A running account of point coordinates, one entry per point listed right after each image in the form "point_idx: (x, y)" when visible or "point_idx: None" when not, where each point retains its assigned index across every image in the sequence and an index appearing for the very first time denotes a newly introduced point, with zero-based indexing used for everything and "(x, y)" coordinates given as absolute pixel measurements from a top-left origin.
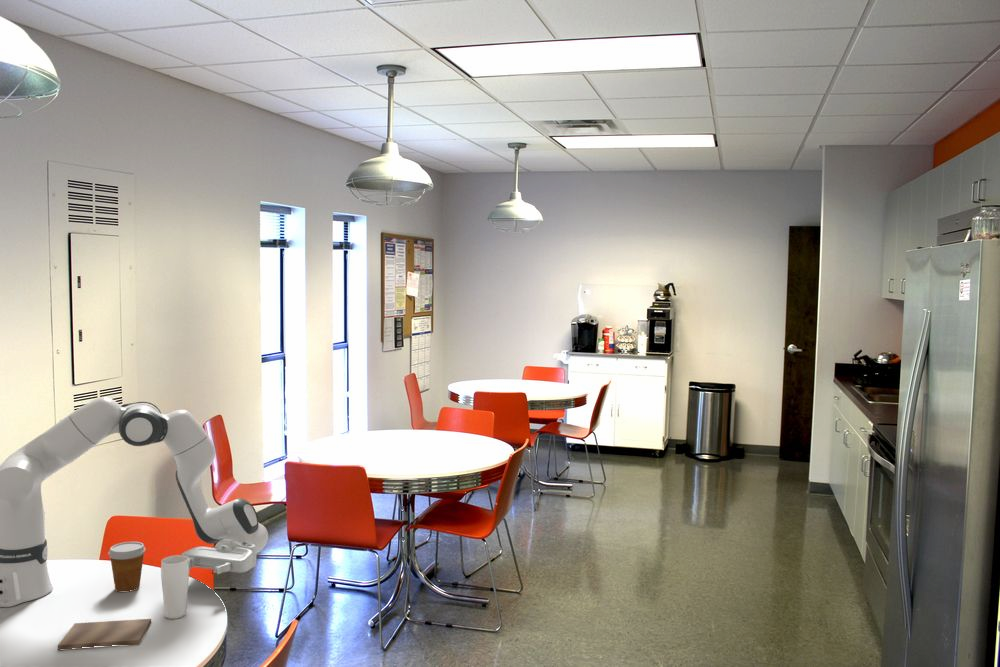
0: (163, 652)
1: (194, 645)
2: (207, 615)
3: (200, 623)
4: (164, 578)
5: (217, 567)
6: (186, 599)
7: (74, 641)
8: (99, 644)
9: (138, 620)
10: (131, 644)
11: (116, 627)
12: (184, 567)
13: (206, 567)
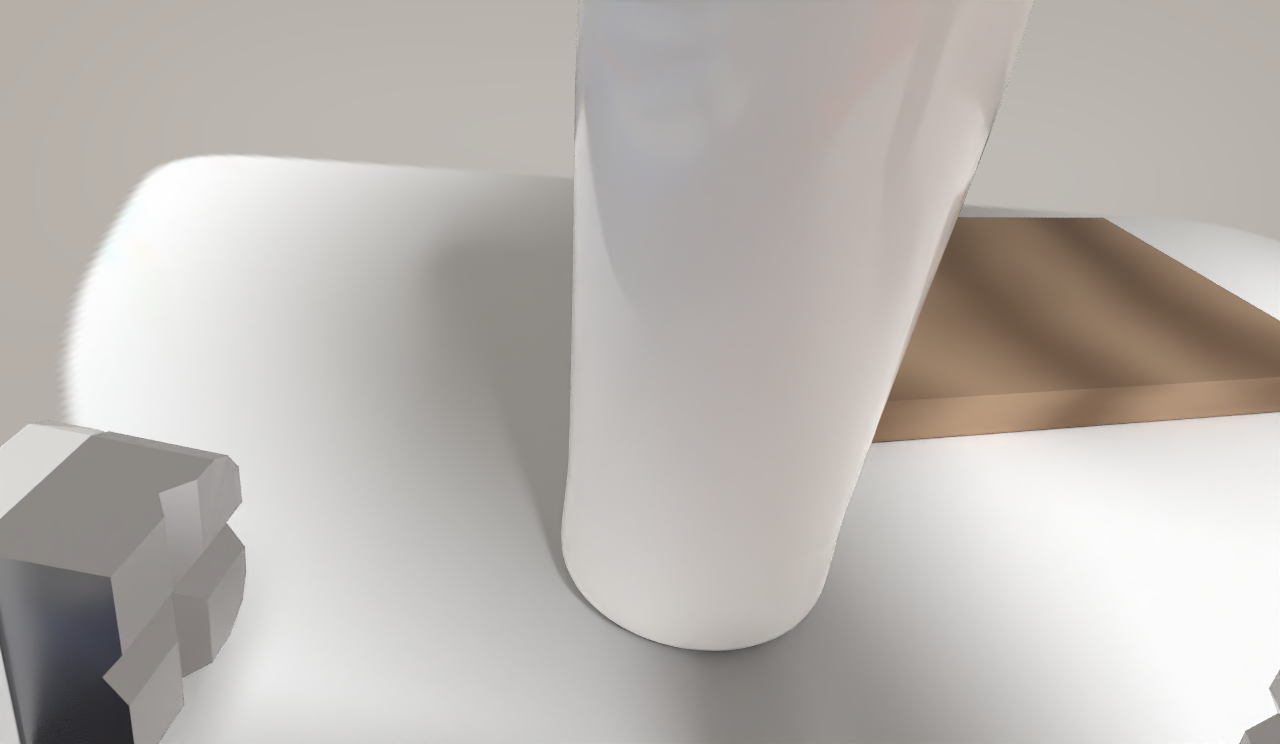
0: (445, 197)
1: (253, 225)
2: (261, 577)
3: (299, 437)
4: None
5: (90, 446)
6: (573, 396)
7: (1058, 232)
8: None
9: (918, 384)
10: None
11: (983, 318)
12: None
13: None
